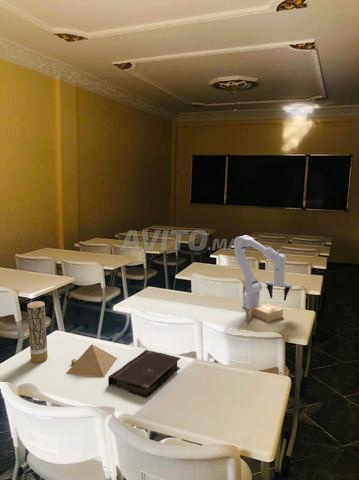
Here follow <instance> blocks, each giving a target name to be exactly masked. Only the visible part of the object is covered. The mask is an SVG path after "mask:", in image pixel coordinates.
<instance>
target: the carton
mask: <svg viewBox="0 0 359 480" xmlns="http://www.w3.org/2000/svg"><path fill="white" fill-rule="evenodd" d="M283 314H284V309H283V308H280V307H278V306H275V305H273V304H270V303H266V304H261V305H259V306H257V307H253V316H255V318H259V319H261V320H263V321H266V322H271V321H274V320H278V319H281V318H283V317H284V315H283Z"/></svg>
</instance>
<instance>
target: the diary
mask: <svg viewBox="0 0 359 480" xmlns="http://www.w3.org/2000/svg"><path fill="white" fill-rule="evenodd" d="M180 359H181V357H178V356H174V355H170V354H166V353H163V352H159V351H158V352H157V351H152V350H148V349H144V351H143V352H141V353H140V354H139V355H137V356H135V358H133V359H131V360H130V361H128V362H127V363H125V365H123V366H122V367H121V368H119V369H118V370H115V371H114V372H113V373H111V374H110V375H109V376H108V378H107V382H108V386H109V387H111V385H113V387H117V388H121V389H123V390H126V391H127V392H128V393H130V394H132V395H135V396H138V397H141V398H149V397H150V396H152V395H153V394H154V393H155V392H156V391H157V390H158V389H159V388H160V387H161V386H162V385H164V384H165V382H167V381H168V380H169V379H170V378H171V376H172V375H174V374H176V373H177V371H179V370H180V369H181V367H179V366H178V361H180Z"/></svg>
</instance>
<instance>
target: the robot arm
mask: <svg viewBox="0 0 359 480" xmlns="http://www.w3.org/2000/svg"><path fill="white" fill-rule="evenodd" d="M233 246H234V255H235V257H236V260H237V262H238V265H239V267H240V270H241V272H242V275H243V278H244V293H243V296H242V305H241V307H242V308H244V309H246V310H248V309H249V311H250V310H251V309H252V308H253V307H257V306H260V293H261V290H262V289H263V287H262V283H261V282H260V281H259V280H258V278H257V277H255V276H254V272H253V271H252V268H251V266H250V264H249V260H248V258H247V255H246V253H245V251H246V250H247V248H248V247H251V248H253V249H255V250H257V251H259V252H261V253H262V256H264V257H265V258H267V259H268V260H270V261H272V263H273V265H274V267H273V268H274V269H273V270H274V271H273V281H267V280H266V281H265V286H266V289H267V291H268V295H269V299H272V298H273V290H274V287H277V288H279V287H280V288H284V289H283V292H284V293H283V295H284V296H283V301H286V300H287V297H288V294H289V291H290V290H292V289H293V284H291V283H288V282H287V283H286V282H285V273H286V272H285V271H286V263H287V261H288V258H287V255H286V254H285V253H280V252H279V251H276V250H275V249H273V247H269V246H267V247H266V246H264V245H263V244H262V243H260V242H259V241H257V240H256V239H254V237H251V236H250V235H249V234H245V235H241V236H236V237H235V239H234V240H233Z"/></svg>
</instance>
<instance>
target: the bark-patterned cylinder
mask: <svg viewBox="0 0 359 480" xmlns="http://www.w3.org/2000/svg"><path fill="white" fill-rule="evenodd" d="M26 308H27V319H28V320H27V321H28V322H27V323H28V334H29V337H28V338H29V352H30V360H31V362H33V363H42V362H45V361H46V360H47V359H48V339H47V323H46V322H47V321H46V319H47V318H46V306H45V301H41V300H40V301H38V300H37V301H30V302H28V303H27V307H26Z"/></svg>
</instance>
